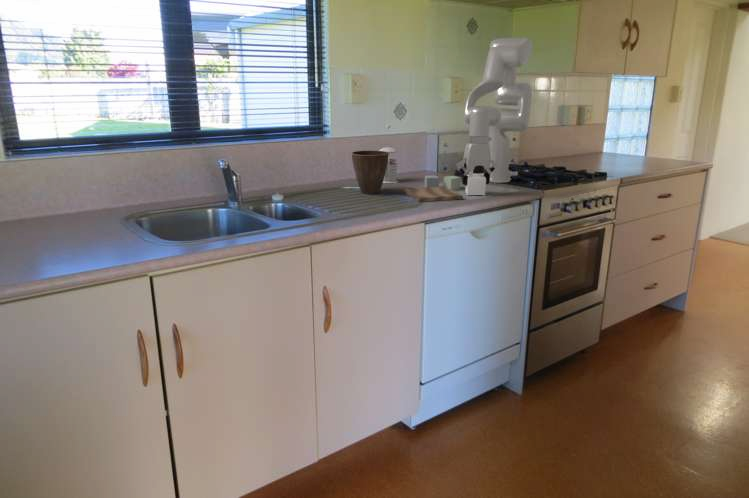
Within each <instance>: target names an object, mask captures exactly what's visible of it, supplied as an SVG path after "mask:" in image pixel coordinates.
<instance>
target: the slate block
mask: <svg viewBox="0 0 749 498" xmlns="http://www.w3.org/2000/svg"><path fill="white" fill-rule="evenodd" d="M439 183H440V177H439V176H437V175H424V188H428V187H440V186H439Z"/></svg>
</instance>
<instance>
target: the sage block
mask: <svg viewBox="0 0 749 498" xmlns="http://www.w3.org/2000/svg"><path fill="white" fill-rule="evenodd" d="M461 184H462V177H460V176H456V175H447V176H443V187H447V188H449V189H451V190H453V191H457V190H458V189H459V190H461V186H462V185H461Z"/></svg>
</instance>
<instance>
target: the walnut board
mask: <svg viewBox="0 0 749 498" xmlns="http://www.w3.org/2000/svg"><path fill="white" fill-rule="evenodd" d="M403 193H404V194H405V193H406V194H405V195H407V194H408V195H409V196H408V195H407V196H408V197H410V196H411V197H413V198H414V199H416V200H417V201H416V200H415V201H416V202H418V203H424V202H428V201H429V202H440V201H441V202H442V201H444V200H445V201H456V200H455V199H462V200H464V195H462V194H461V193H460V192H456V190H451V189H449V188H447V187H444V186H439V187H428V188H425V187H414V188H412V187H411V188H403ZM411 197H410V198H411ZM413 198H412V199H413ZM414 199H413V200H414Z"/></svg>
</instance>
